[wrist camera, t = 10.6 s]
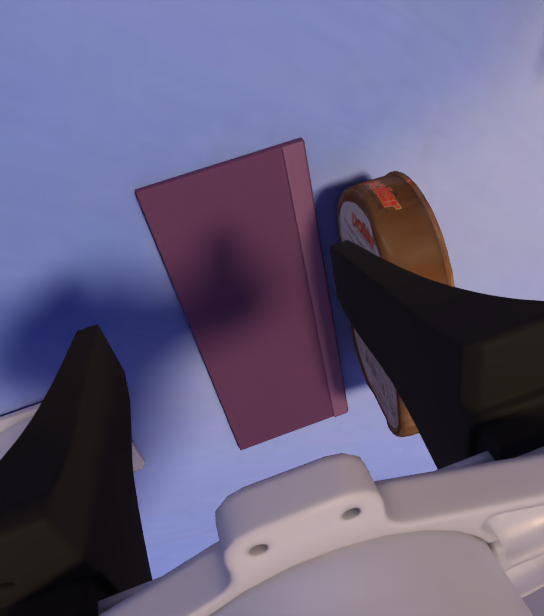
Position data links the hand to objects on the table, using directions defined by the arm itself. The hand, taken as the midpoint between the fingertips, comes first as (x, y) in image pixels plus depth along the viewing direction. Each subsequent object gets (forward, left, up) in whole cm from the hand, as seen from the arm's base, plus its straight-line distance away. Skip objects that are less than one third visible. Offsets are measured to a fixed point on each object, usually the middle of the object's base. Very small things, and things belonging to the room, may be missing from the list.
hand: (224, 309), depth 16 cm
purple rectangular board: (+2, -10, -10) cm, 15 cm away
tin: (+8, -9, -11) cm, 16 cm away
